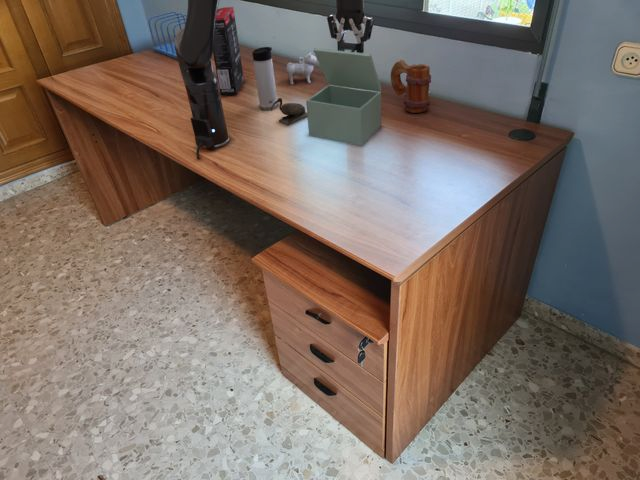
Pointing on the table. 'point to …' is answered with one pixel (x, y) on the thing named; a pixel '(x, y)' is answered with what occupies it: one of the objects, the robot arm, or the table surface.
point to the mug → (412, 85)
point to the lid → (348, 67)
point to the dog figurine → (302, 67)
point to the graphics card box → (227, 52)
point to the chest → (344, 114)
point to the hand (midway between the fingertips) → (350, 54)
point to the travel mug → (265, 78)
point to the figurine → (291, 112)
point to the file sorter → (168, 47)
